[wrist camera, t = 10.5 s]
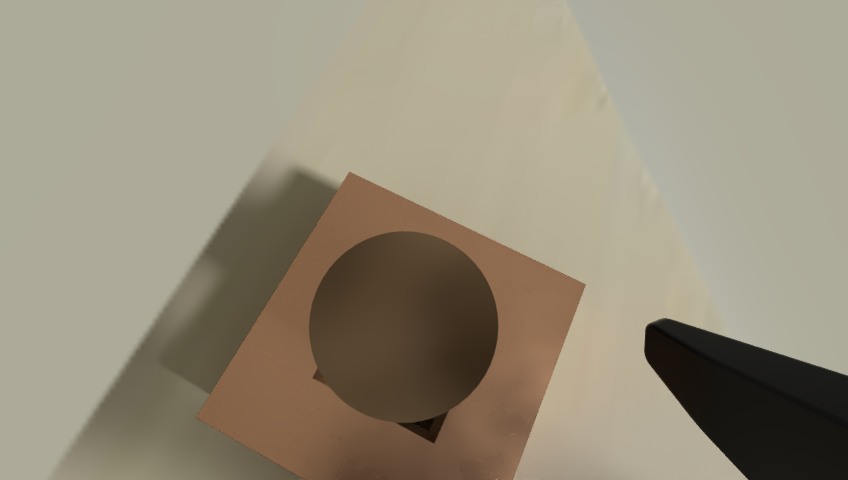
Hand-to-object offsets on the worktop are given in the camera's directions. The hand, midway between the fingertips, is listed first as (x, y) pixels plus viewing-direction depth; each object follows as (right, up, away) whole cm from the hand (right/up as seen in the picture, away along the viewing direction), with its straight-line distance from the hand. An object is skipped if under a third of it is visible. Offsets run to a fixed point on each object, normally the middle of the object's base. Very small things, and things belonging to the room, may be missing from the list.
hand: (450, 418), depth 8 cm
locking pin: (-1, -2, +13) cm, 13 cm away
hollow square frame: (-2, -2, +13) cm, 13 cm away
